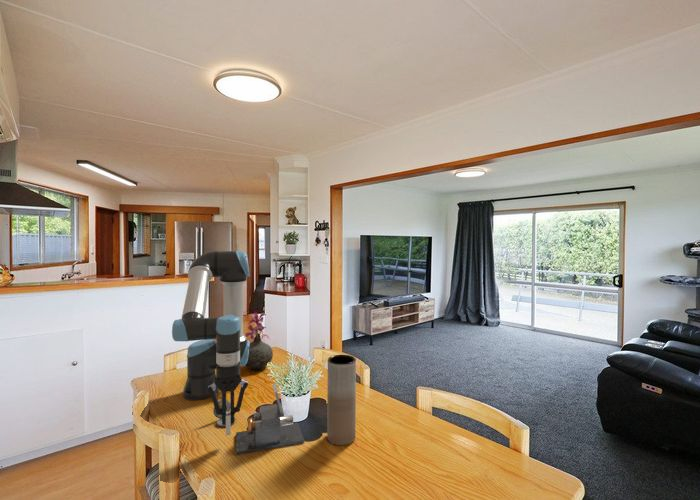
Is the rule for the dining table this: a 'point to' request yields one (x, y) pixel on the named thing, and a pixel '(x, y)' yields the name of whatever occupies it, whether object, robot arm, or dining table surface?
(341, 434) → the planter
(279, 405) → the keeper
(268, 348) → the vase
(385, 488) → the dining table surface
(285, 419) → the pin
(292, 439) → the hitch block
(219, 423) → the pocket watch
